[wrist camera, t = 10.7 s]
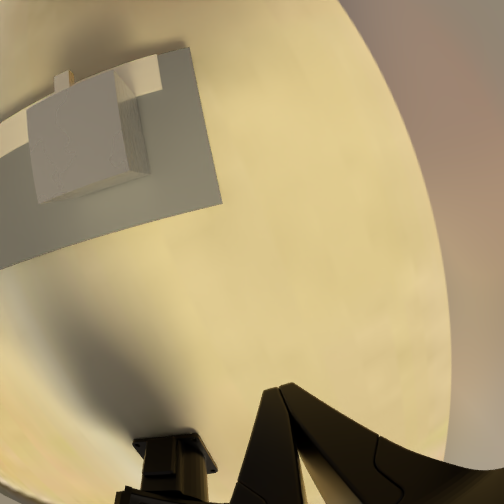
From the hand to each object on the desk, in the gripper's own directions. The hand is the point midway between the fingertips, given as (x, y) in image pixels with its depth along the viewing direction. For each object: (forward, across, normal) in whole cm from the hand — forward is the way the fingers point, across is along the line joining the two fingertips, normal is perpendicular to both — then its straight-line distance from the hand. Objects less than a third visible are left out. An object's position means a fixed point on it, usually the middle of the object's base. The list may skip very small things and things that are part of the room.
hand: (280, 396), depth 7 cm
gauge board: (+12, +15, -10) cm, 21 cm away
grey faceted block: (+10, +6, -11) cm, 16 cm away
